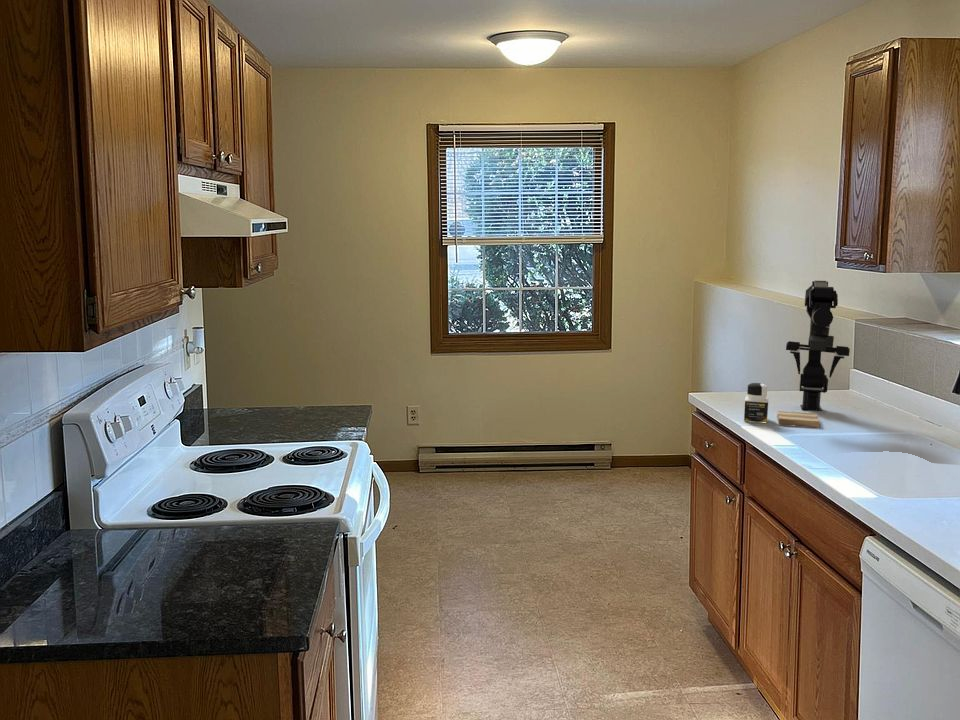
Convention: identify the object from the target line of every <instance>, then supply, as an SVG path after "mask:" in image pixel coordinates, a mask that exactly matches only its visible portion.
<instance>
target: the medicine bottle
mask: <svg viewBox="0 0 960 720" xmlns="http://www.w3.org/2000/svg"><path fill="white" fill-rule="evenodd" d="M746 392H747V393H746V396H745V399H744V408H743V409H744V411H743V422H744V421H751V422H750V423H755V422H766V423H765V424H768V414H769V412H768V411H769V398H768V397H767V395H768V386H767V385H766V384H764V383H760V382H751V383H749V384H748V385H747V391H746Z"/></svg>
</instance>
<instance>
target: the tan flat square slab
mask: <svg viewBox="0 0 960 720" xmlns="http://www.w3.org/2000/svg"><path fill="white" fill-rule="evenodd" d="M776 418H777V423H778V426H786V425H795V426H794V427H801V426H808V427H807V428H817V427H819V428H820V419H819V417H818V415H817V413H815V412H800V411H799V412H798V411H797V412H796V411H795V412H794V411H781V410H777V412H776Z"/></svg>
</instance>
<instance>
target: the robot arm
mask: <svg viewBox="0 0 960 720" xmlns="http://www.w3.org/2000/svg"><path fill="white" fill-rule="evenodd" d="M838 298H839V297H838V293H837V290H835V288H834V286H829V281H827V280H813V281H812V283H811V285H810V286H809V287H808V288H807V289H805V295H804V307H805V309H806V311H805V312H806V313H807V316H808V317H809V319H810V321H809V337H808V344H804V343H801V342H800V341H793V340H789V341H787V342H786V346H785V351H789V354H793V358H794V360H795V364H796V369H797V373H798V375H800V376H799V382H798V383H799V384H798V385H799V386H798V391H799V392H802V393H803V394H802V404H800V409H801V410H804V411H816V412H817V411H820V412H821V411H822V410H823V409H822V407H821V396H822V395H821V393H822V394H823V393H824V394H825V393H827V392H828V386H829V378H832V376H833V373H834V372H835V369H836V367H837V365H838V363H839V361H840V360H841V359H843V360H844V359H845V357H850V352H851V351H850V350H851V349H850V348H849V346H844V345H836V346H835V347H834V339H835V336H834V335H830V329H831V324H832V323H833V320H834V316H833V315H834V314H833V313H832V311H831V309H836V307H838V303H839V300H838ZM800 351H808V354H807V355H808V356H807V362H806V364H805V365H804V367H803V368H802V373H801V352H800ZM822 353H829V354H834V355H833V359H832V363H831V367H830V369H829V378H828V376H827V375H826V373H825V372H826V370H825V368H824V365H822V360H821V358H822Z"/></svg>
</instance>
